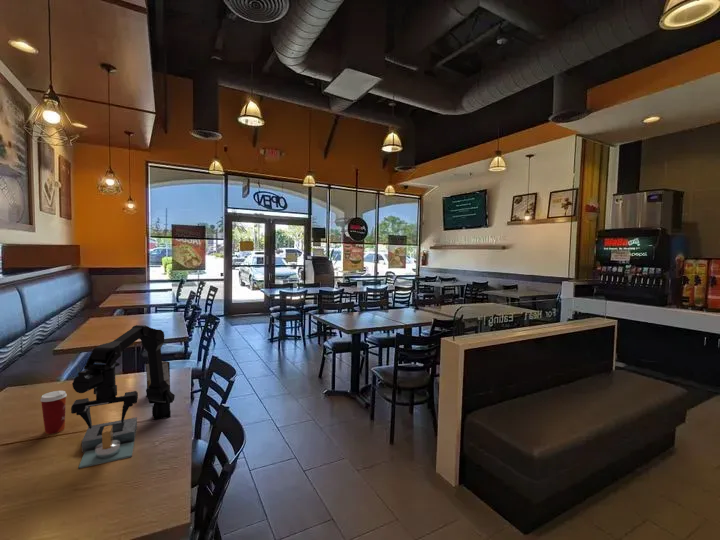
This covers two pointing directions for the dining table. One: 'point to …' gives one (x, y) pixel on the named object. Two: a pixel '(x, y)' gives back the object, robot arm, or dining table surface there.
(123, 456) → the mat
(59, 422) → the coffee cup
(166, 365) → the coffee box
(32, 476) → the dining table surface
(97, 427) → the housing
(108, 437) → the grey round brown-barred piece
